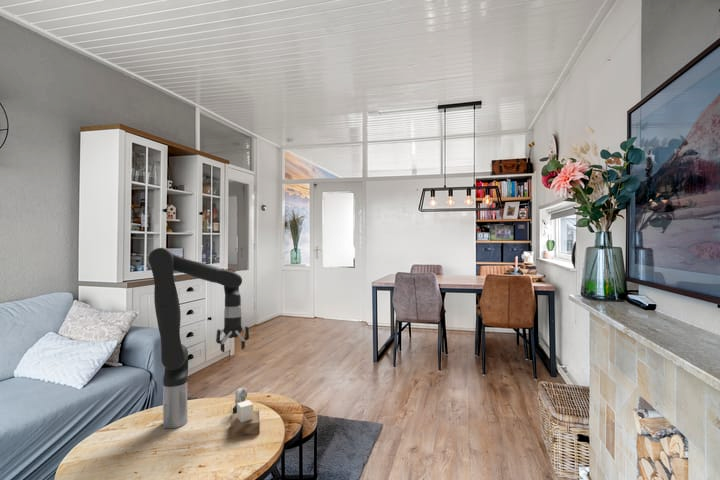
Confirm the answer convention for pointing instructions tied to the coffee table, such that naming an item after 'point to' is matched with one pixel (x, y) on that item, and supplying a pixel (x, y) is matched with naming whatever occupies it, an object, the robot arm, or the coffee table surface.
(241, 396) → the watch
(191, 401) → the coffee table surface
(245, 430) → the walnut block
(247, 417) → the cream block
